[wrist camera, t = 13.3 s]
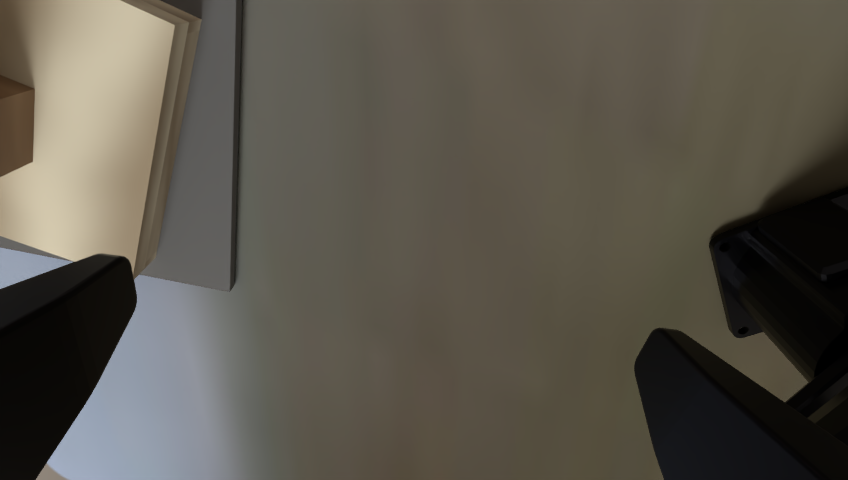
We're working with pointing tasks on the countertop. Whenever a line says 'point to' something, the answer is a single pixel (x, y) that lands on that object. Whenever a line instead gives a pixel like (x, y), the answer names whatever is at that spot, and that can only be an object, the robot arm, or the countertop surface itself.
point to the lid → (91, 122)
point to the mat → (201, 159)
